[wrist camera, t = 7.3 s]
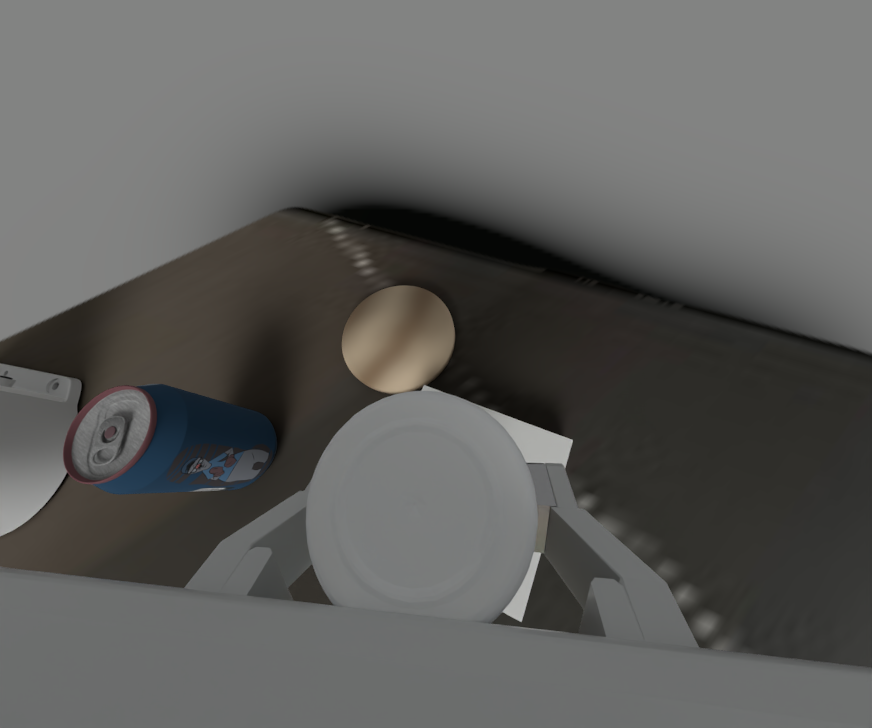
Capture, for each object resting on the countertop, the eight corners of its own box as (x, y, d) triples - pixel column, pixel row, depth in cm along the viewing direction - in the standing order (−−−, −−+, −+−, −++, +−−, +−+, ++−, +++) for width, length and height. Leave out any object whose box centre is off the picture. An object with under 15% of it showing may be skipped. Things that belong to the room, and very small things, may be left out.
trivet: (327, 371, 31) (322, 367, 30) (376, 280, 34) (372, 274, 33) (428, 411, 28) (426, 408, 27) (471, 308, 31) (471, 302, 30)
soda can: (223, 415, 31) (76, 380, 20) (288, 410, 30) (173, 370, 19) (209, 491, 29) (33, 499, 18) (279, 487, 28) (142, 492, 17)
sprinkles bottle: (415, 455, 19) (300, 401, 7) (489, 445, 19) (512, 368, 6) (422, 539, 18) (289, 674, 5) (504, 530, 17) (576, 648, 5)
